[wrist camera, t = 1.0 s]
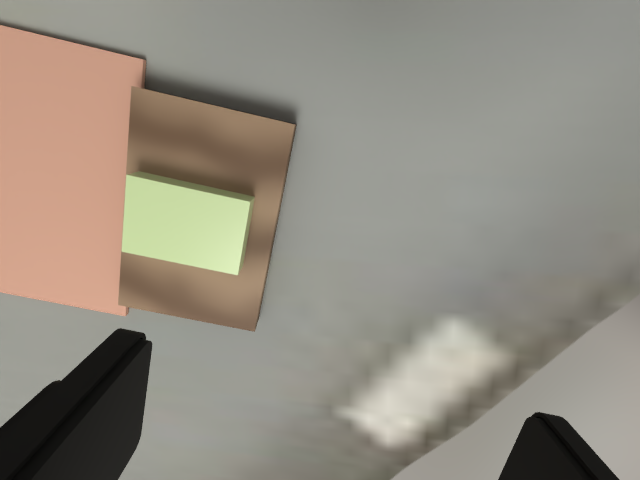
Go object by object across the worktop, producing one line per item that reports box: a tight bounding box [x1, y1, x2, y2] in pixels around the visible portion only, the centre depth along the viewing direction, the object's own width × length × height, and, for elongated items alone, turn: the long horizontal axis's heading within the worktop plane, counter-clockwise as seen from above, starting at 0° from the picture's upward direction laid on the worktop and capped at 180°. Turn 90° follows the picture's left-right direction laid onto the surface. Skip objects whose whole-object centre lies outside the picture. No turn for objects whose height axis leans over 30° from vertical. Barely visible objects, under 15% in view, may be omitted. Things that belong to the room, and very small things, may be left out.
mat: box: [0, 25, 146, 316], centre depth 30 cm, size 22×16×1 cm
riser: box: [118, 86, 296, 332], centre depth 30 cm, size 18×12×2 cm, turn 167°
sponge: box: [122, 171, 255, 275], centre depth 28 cm, size 6×9×2 cm, turn 77°
